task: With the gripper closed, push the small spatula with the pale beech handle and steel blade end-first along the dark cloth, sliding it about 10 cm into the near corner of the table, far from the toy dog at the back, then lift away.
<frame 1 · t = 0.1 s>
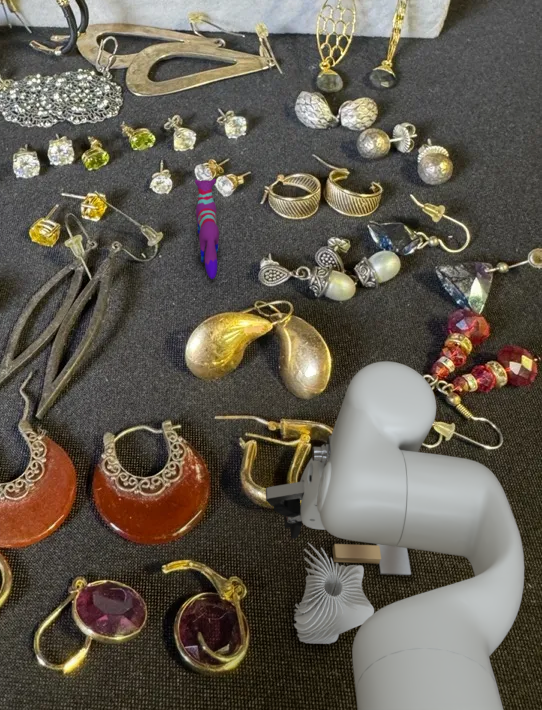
hand: (336, 527, 89), 21 cm above the table, tool pointing down, fingers open, 9 cm apart
spatula: (377, 556, 108), on the table
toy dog: (206, 246, 144), on the table
shell sculpture: (316, 623, 103), on the table
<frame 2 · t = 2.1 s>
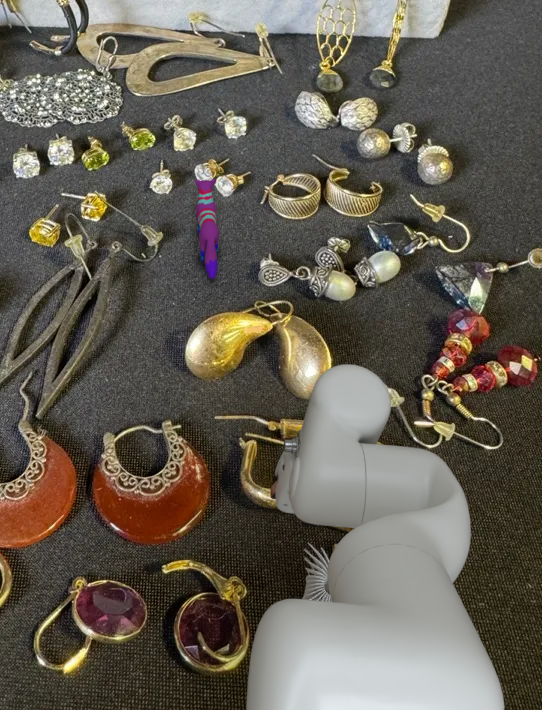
hand: (308, 515, 99), 12 cm above the table, tool pointing down, fingers closed
nothing on the table moved.
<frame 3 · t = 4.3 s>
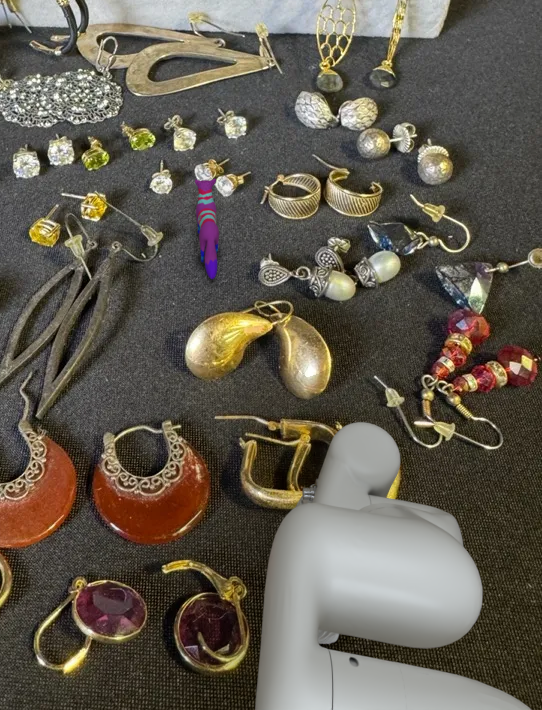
hand: (322, 553, 108), 1 cm above the table, tool pointing down, fingers closed
spatula: (379, 556, 108), on the table, touching gripper
everything else where it was.
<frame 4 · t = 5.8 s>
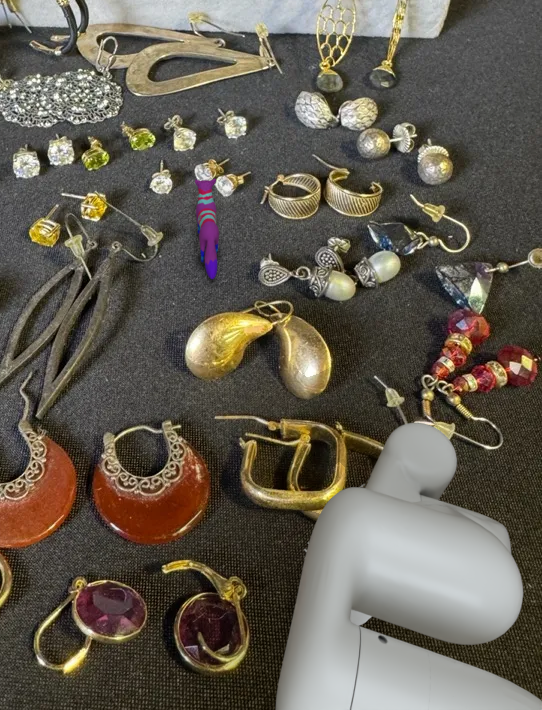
hand: (367, 552, 108), 1 cm above the table, tool pointing down, fingers closed
spatula: (422, 556, 108), on the table, touching gripper
everything else where it was.
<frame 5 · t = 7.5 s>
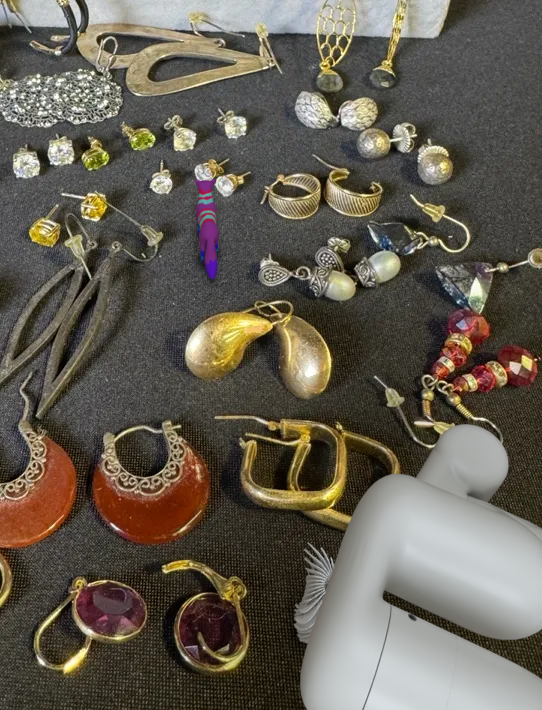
hand: (408, 554, 108), 1 cm above the table, tool pointing down, fingers closed
spatula: (463, 558, 108), on the table, touching gripper
everything else where it was.
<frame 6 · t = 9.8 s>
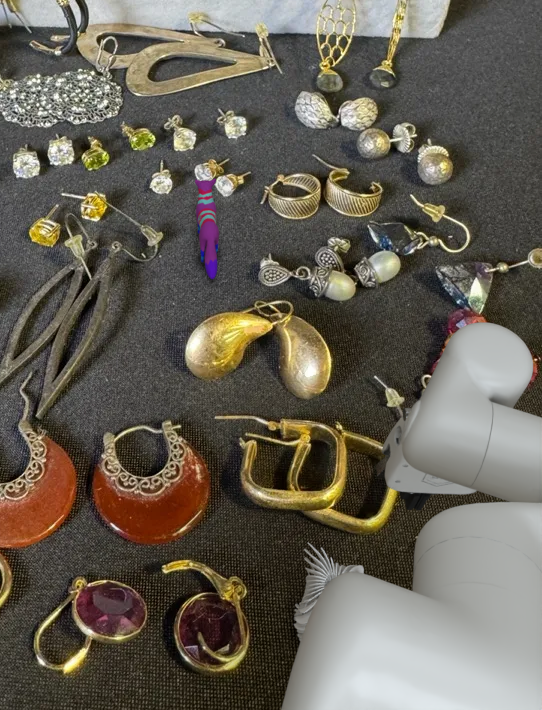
hand: (411, 497, 94), 19 cm above the table, tool pointing down, fingers closed
spatula: (463, 558, 108), on the table
everything else where it was.
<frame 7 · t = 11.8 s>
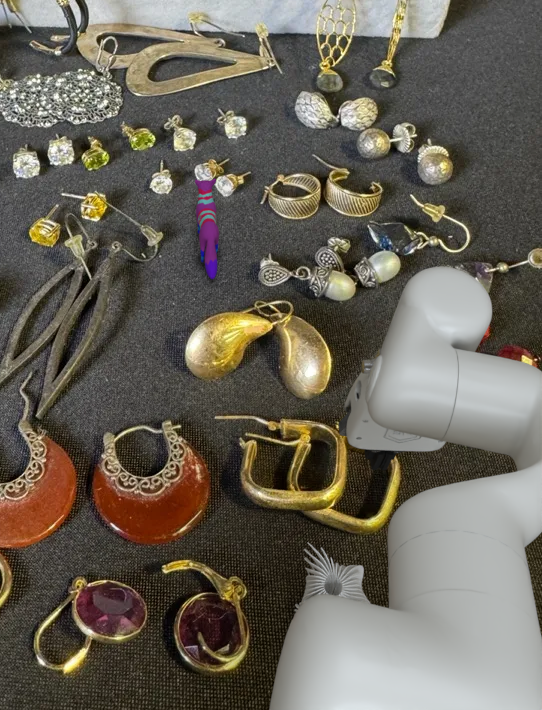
hand: (376, 457, 91), 25 cm above the table, tool pointing down, fingers closed
nothing on the table moved.
at the end: spatula moved 11.5 cm from its start; the gripper is holding nothing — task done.
